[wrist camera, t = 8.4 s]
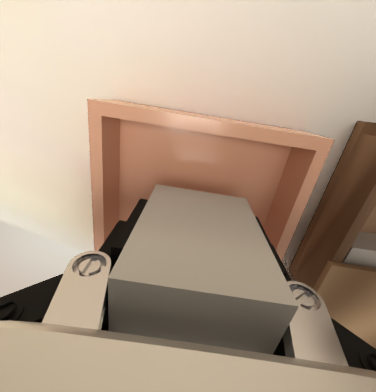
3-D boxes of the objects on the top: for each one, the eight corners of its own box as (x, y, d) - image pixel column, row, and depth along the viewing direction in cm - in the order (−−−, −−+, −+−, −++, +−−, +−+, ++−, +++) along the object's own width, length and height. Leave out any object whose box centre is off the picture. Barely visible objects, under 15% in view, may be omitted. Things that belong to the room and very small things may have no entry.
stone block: (246, 198, 10) (299, 305, 5) (225, 266, 12) (247, 400, 7) (156, 184, 10) (108, 277, 5) (149, 255, 12) (109, 380, 7)
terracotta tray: (303, 131, 12) (334, 139, 9) (250, 272, 17) (261, 307, 14) (113, 99, 12) (87, 99, 9) (113, 252, 17) (96, 283, 14)
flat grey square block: (387, 235, 14) (418, 257, 12) (362, 274, 16) (386, 299, 14) (330, 226, 14) (352, 247, 12) (310, 266, 16) (326, 290, 14)
